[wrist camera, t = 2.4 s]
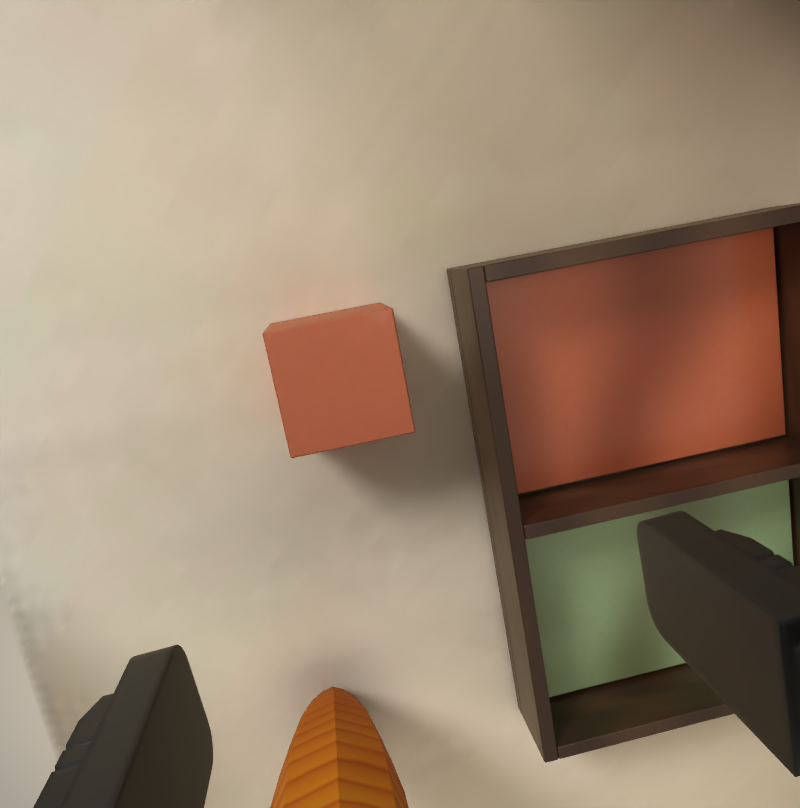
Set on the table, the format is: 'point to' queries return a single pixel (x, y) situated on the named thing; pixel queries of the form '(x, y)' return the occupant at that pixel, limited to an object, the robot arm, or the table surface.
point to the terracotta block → (339, 378)
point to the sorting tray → (627, 448)
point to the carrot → (337, 759)
